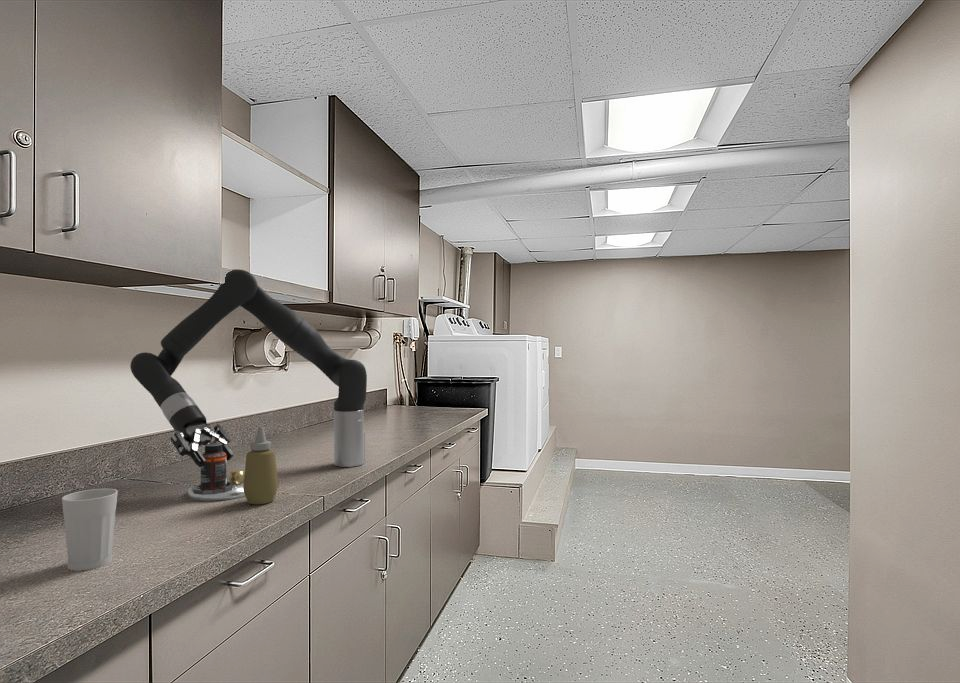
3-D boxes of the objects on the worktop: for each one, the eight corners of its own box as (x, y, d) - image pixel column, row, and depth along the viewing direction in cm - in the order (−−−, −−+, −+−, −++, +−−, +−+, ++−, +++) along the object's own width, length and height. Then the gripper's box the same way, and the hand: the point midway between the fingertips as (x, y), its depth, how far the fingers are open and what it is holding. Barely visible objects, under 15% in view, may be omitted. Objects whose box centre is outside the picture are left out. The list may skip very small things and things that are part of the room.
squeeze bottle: (265, 495, 140) (265, 424, 140) (285, 500, 136) (285, 426, 136) (235, 503, 134) (235, 428, 134) (255, 508, 129) (255, 430, 129)
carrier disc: (223, 482, 154) (223, 466, 154) (270, 487, 148) (270, 470, 148) (173, 497, 139) (173, 479, 139) (222, 503, 133) (222, 485, 133)
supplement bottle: (231, 486, 143) (231, 442, 143) (218, 492, 137) (218, 446, 137) (209, 485, 144) (209, 442, 144) (195, 491, 138) (195, 446, 138)
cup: (100, 571, 93) (100, 500, 93) (50, 573, 92) (50, 501, 93) (127, 554, 101) (127, 487, 101) (80, 555, 100) (80, 489, 100)
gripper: (166, 407, 137) (202, 456, 132) (213, 401, 150) (246, 446, 146) (151, 427, 138) (185, 477, 134) (198, 420, 152) (231, 465, 148)
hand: (217, 461), depth 140 cm, fingers open, 8 cm apart
